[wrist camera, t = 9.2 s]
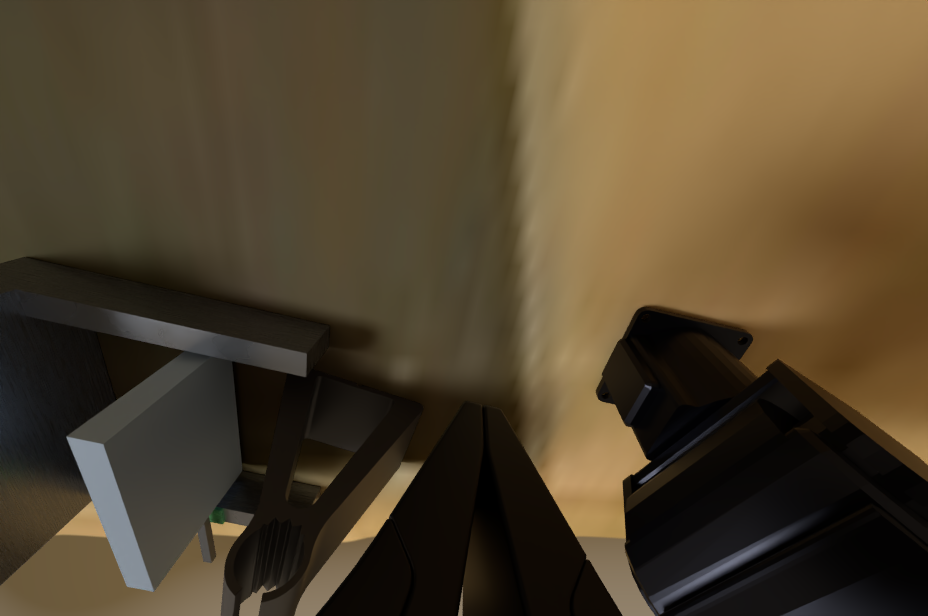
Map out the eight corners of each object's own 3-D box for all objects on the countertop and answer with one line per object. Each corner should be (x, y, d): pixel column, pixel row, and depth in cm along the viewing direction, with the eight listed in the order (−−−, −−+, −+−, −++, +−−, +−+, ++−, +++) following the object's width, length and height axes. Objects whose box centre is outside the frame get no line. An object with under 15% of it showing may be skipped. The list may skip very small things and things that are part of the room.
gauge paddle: (230, 341, 22) (103, 444, 15) (246, 517, 30) (170, 639, 23) (205, 335, 22) (66, 436, 15) (229, 514, 30) (146, 634, 23)
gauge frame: (329, 325, 21) (232, 443, 13) (319, 499, 29) (254, 641, 21) (24, 257, 21) (-272, 337, 13) (95, 453, 28) (-62, 582, 20)
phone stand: (424, 405, 24) (370, 630, 13) (400, 462, 26) (339, 688, 16) (292, 361, 23) (117, 565, 12) (281, 425, 26) (129, 638, 15)
